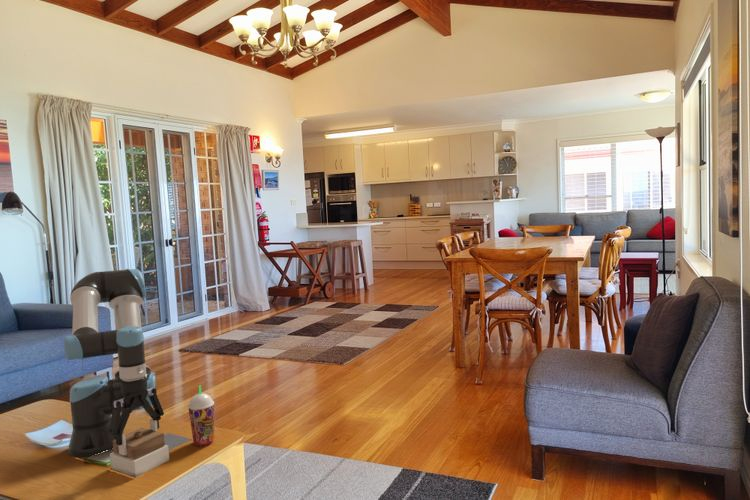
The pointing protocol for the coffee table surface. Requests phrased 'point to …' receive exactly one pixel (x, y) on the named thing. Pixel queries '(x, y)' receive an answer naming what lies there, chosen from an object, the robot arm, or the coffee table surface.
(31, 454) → the coffee table surface
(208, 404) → the smoothie
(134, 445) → the lid
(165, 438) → the mat
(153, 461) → the dish
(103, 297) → the robot arm
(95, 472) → the coffee table surface
